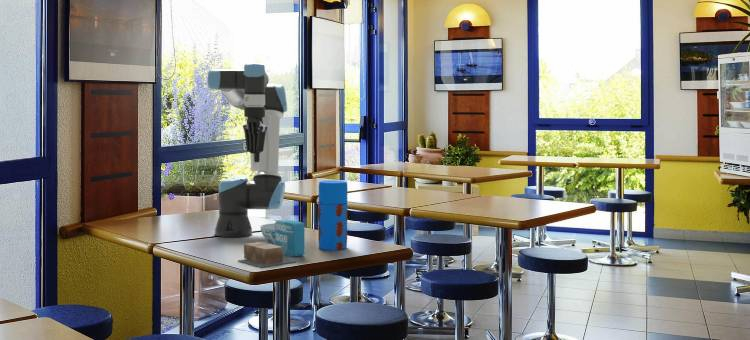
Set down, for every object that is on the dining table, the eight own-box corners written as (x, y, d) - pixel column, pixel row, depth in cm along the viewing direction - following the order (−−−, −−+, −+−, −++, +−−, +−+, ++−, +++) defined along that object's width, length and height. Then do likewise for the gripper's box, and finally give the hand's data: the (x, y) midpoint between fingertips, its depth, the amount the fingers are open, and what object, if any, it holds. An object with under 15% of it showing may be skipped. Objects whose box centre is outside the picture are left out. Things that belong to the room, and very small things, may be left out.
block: (244, 244, 264) (265, 249, 255) (260, 241, 269) (282, 246, 260) (244, 258, 265) (265, 264, 255) (261, 255, 269) (282, 261, 260)
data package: (274, 252, 278) (274, 220, 277) (284, 251, 281) (284, 218, 280) (294, 257, 269) (294, 223, 268) (304, 256, 272) (304, 222, 271)
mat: (237, 261, 261) (237, 260, 261) (271, 256, 271) (271, 255, 271) (261, 267, 251) (261, 266, 251) (295, 262, 260) (295, 261, 260)
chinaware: (263, 250, 282) (263, 229, 281) (258, 243, 296) (258, 223, 295) (303, 249, 286) (303, 228, 285) (296, 242, 300) (296, 222, 299)
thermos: (314, 246, 291) (314, 180, 289) (341, 244, 295) (341, 180, 293) (324, 251, 281) (324, 183, 279) (351, 249, 285) (351, 182, 283)
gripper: (236, 106, 281) (236, 170, 284) (255, 106, 271) (255, 173, 274) (253, 105, 286) (254, 168, 288) (273, 106, 276) (273, 171, 279)
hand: (255, 170), depth 281 cm, fingers closed
